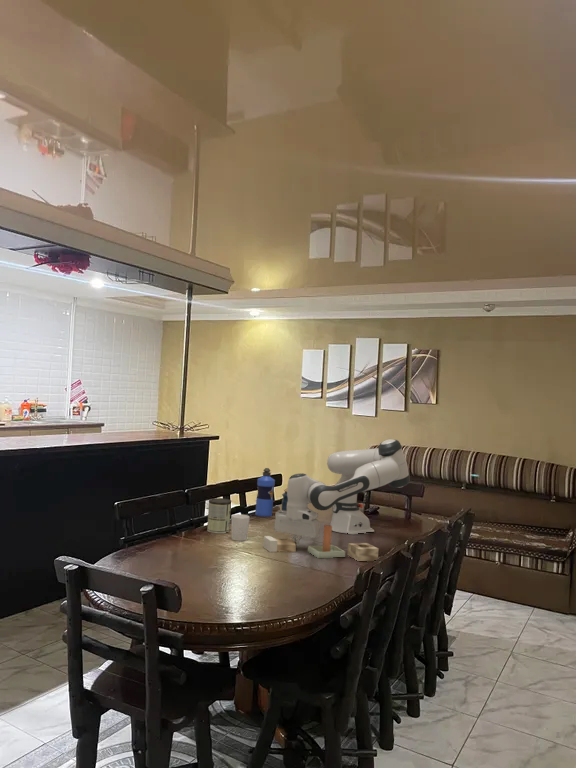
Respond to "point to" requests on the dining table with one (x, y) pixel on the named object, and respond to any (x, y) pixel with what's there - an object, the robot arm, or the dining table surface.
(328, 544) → the dowel
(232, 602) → the dining table surface
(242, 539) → the white cup
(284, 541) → the notched wooden block
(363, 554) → the socket block
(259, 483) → the water bottle
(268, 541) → the white rectangular block
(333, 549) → the tray
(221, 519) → the coffee can
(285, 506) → the canister
